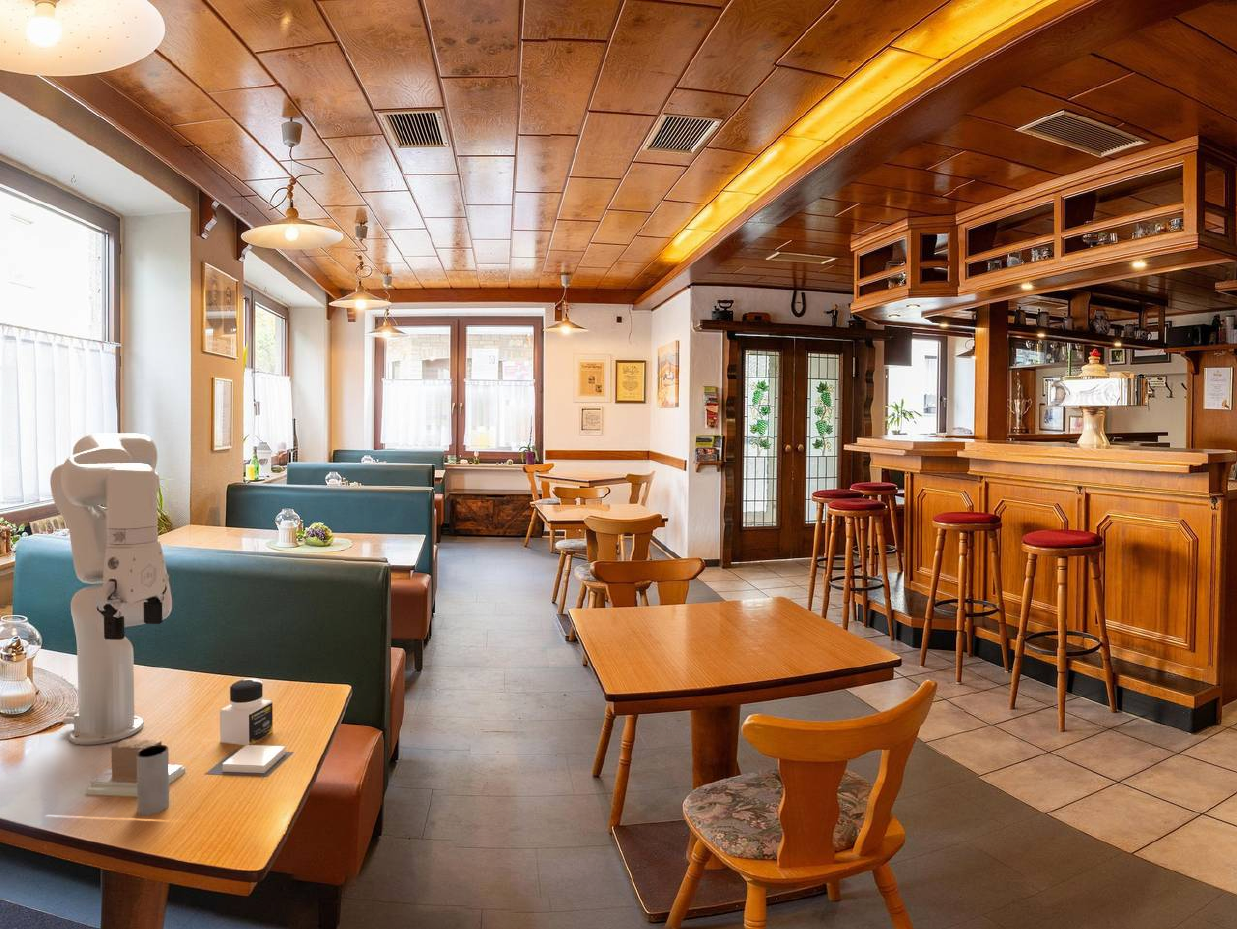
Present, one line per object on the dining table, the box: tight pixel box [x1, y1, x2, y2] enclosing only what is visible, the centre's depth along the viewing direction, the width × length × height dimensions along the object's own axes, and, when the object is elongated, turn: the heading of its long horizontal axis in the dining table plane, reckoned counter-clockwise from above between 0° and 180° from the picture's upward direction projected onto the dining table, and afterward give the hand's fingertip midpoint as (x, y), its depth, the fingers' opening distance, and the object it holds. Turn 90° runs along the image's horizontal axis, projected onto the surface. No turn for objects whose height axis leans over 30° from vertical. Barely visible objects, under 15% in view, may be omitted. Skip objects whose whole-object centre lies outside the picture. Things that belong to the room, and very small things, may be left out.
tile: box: [223, 744, 287, 773], centre depth 138 cm, size 2×8×8 cm
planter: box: [136, 744, 170, 816], centre depth 122 cm, size 4×4×10 cm
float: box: [89, 738, 183, 788], centre depth 130 cm, size 12×7×6 cm, turn 88°
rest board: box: [85, 766, 186, 797], centre depth 130 cm, size 12×9×1 cm
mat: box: [204, 749, 295, 778], centre depth 138 cm, size 12×10×1 cm
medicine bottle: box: [219, 678, 274, 746], centre depth 149 cm, size 7×7×12 cm
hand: (134, 630), depth 128 cm, fingers open, 9 cm apart
